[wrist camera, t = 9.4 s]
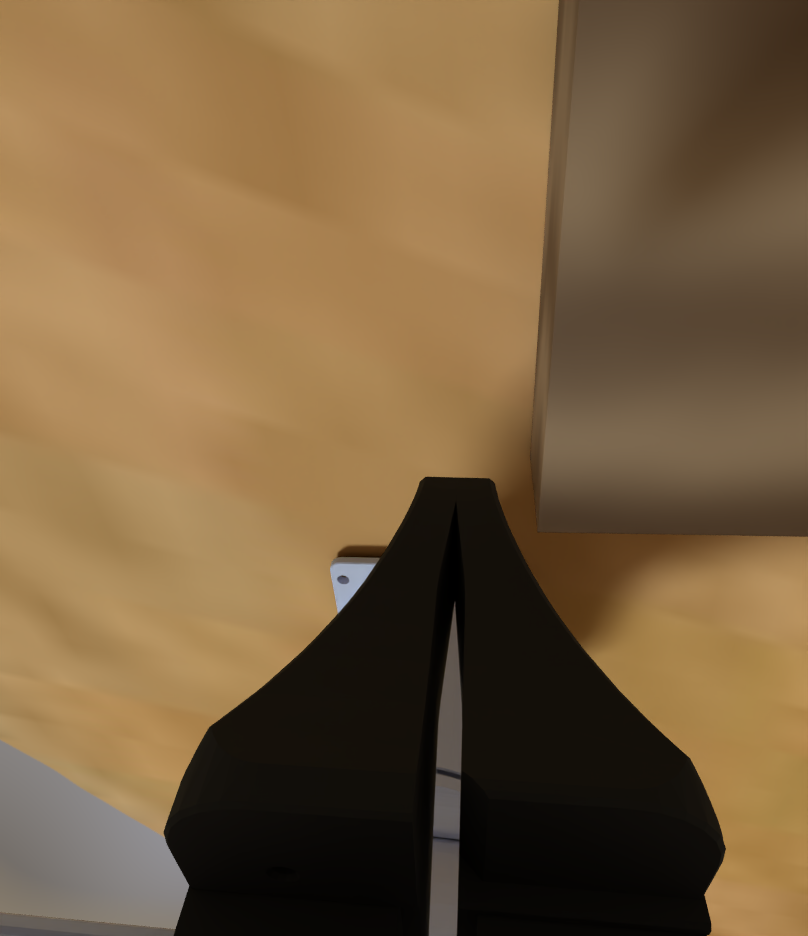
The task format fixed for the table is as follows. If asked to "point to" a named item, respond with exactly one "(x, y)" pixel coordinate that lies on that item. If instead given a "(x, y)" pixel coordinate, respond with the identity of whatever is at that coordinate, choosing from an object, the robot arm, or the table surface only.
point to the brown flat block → (675, 272)
